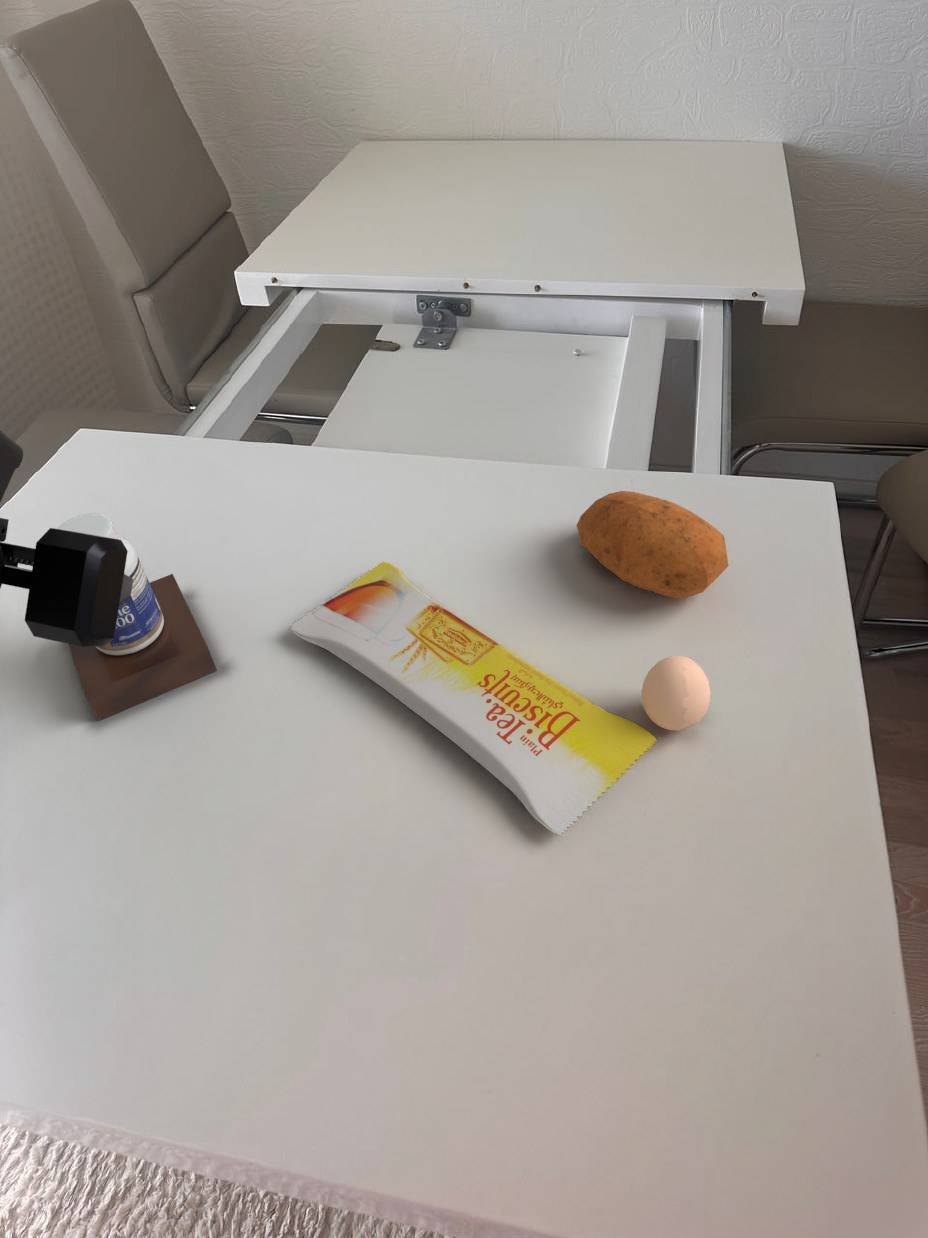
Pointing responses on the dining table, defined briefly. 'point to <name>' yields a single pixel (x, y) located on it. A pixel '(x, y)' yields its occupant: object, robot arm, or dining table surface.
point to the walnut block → (146, 659)
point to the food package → (479, 695)
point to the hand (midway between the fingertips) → (71, 574)
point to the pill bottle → (138, 610)
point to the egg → (676, 693)
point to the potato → (653, 543)
